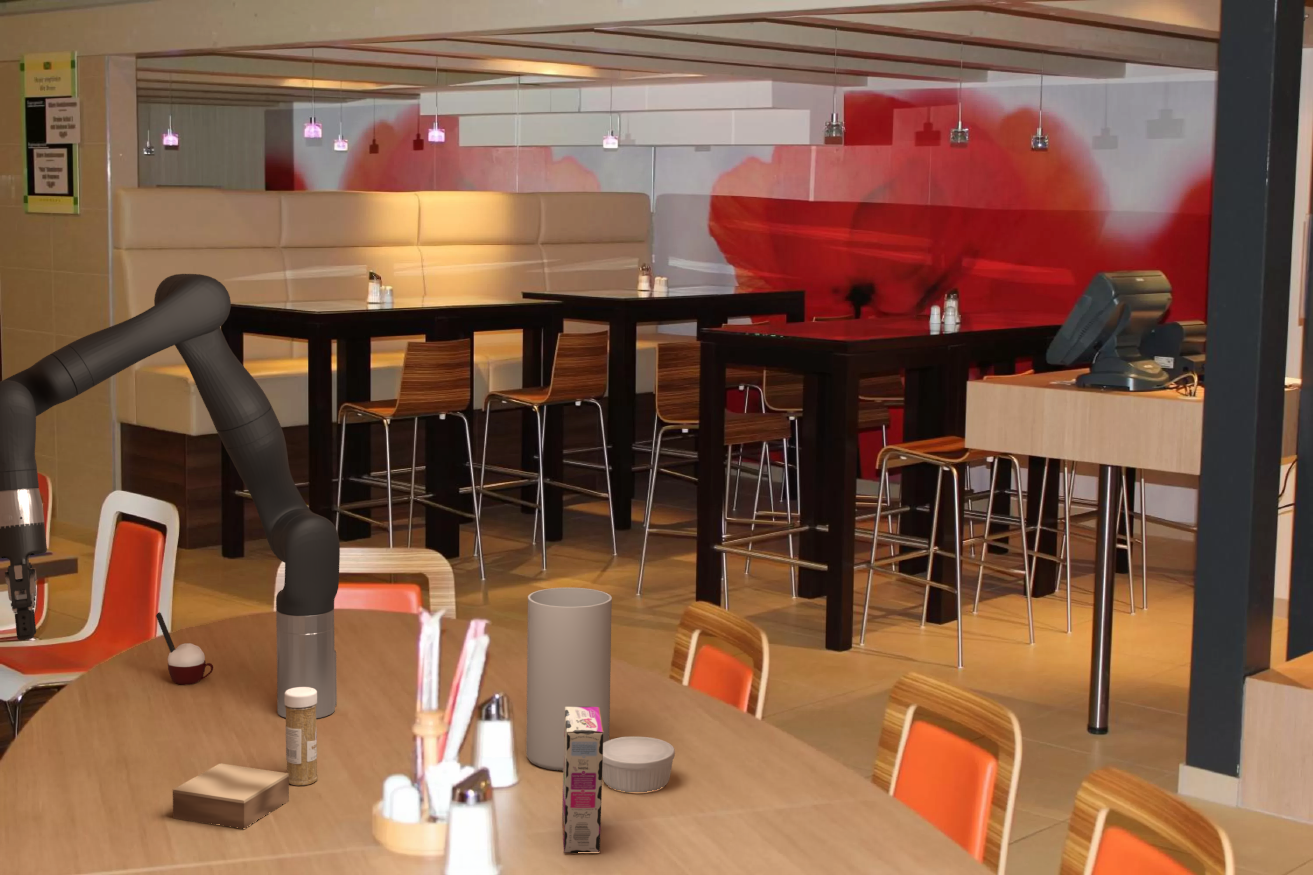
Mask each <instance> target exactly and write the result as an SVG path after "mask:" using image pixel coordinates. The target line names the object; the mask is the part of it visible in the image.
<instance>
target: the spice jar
mask: <svg viewBox="0 0 1313 875" xmlns="http://www.w3.org/2000/svg"><path fill="white" fill-rule="evenodd" d="M284 701H285V708H286V718H285V758H286V773H289V784H290V785H293V786H298V787H300V786H308V785H311V784H313V783H315V782H318V781H317V780H318V778H319V775H318V765H317V764H318V760H317V759H318V749H317V748H318V744H317V743H318V742H317V740H318V739H317V737H318V736H317V730H318V729H317V728H318V727H317V718H316V703H317V691H316V690H315V689H314V688H310V687H296V688H291V689H288V690H287V691H286V692H285V697H284Z"/></svg>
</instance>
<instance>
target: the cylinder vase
mask: <svg viewBox="0 0 1313 875" xmlns="http://www.w3.org/2000/svg"><path fill="white" fill-rule="evenodd" d="M612 598H613V597H612V595H611V594H609V593H607V592H605V591H601V590H598V589H593V588H586V587H585V588H584V587H553V588H551V587H550V588H545V589H539V590H536V591H534V592H531V593H530V594H528V595H527V637H526V638H527V645H526V646H527V647H526V648H527V651H526V655H527V658H526V659H527V662H526V738H525V739H526V740H525V741H526V743H525V744H526V750H525V751H526V753H525V754H526V758H527V759H528V760H529V761H530V762H531V763H532V764H533V765H535V766H537V767H540V768H542V769H546V770H552V771H558V770H562V771H561V772H563V758H564V724H565V707H599V708H600V714H601V721H602V727H603V743H604V742H606V741H609V740H610V725H611V723H610V720H611V718H610V717H611V716H610V714H611V712H610V710H611V667H612V666H611V662H612V659H611V658H612V651H611V650H612V606H613V605H612V602H613V601H612V600H613V599H612Z"/></svg>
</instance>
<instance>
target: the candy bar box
mask: <svg viewBox="0 0 1313 875" xmlns="http://www.w3.org/2000/svg"><path fill="white" fill-rule="evenodd" d="M602 769H603V727H602V721H601V714H600V708H599V707H565V724H564V758H563V771H562V805H561V806H562V807H561V808H562V810H561V811H562V813H561V814H562V815H561V818H562V819H561V824H562V840H563V841H562V842H563V853H564V854H565V853H578V852H599V851H600V852H601V831H602V830H601V829H602V825H601V824H602V802H603V801H602V800H603V799H602V797H603V777H602Z"/></svg>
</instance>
